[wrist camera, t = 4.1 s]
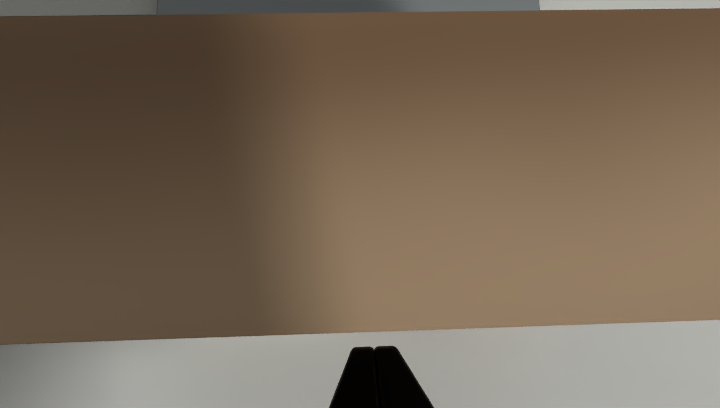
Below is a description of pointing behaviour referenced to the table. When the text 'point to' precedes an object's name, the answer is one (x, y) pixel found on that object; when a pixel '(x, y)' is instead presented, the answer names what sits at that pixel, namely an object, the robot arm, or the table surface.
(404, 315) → the walnut block
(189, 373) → the table surface
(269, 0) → the mat
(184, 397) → the table surface
